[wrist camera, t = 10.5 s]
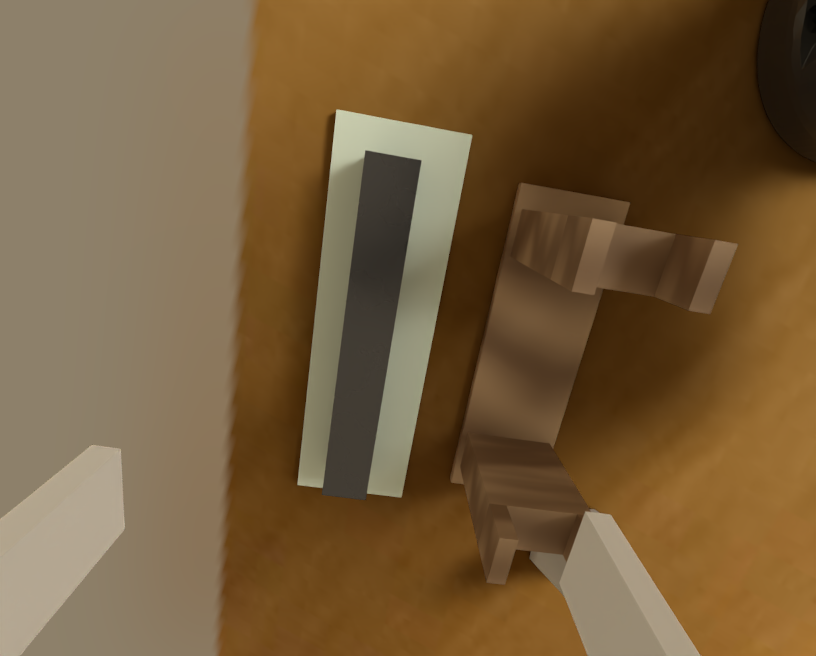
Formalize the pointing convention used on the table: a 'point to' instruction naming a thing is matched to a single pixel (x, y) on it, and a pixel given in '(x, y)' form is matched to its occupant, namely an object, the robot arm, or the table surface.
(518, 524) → the rack
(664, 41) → the table surface
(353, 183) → the mat
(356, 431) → the rail
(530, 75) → the table surface
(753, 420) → the table surface
